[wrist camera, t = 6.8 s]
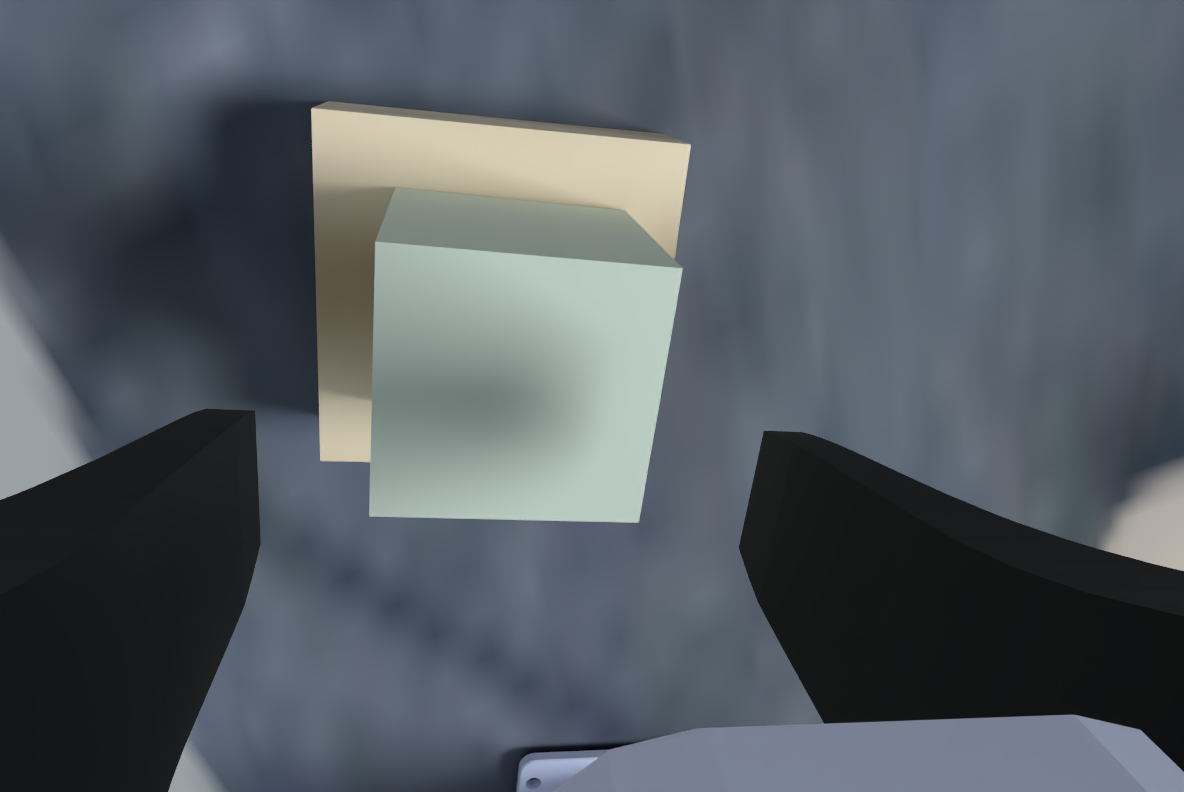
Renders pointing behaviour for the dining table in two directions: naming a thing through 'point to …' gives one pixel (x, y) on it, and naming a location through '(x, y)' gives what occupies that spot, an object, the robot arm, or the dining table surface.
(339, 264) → the pedestal
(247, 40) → the dining table surface
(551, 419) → the cube
